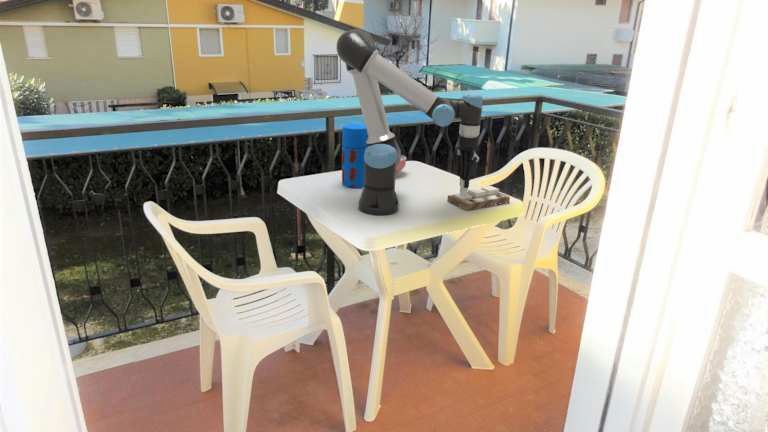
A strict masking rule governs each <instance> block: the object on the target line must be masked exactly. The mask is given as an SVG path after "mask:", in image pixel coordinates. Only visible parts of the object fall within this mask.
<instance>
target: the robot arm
mask: <svg viewBox="0 0 768 432" xmlns="http://www.w3.org/2000/svg"><path fill="white" fill-rule="evenodd" d="M336 53H337V56H338V57H339V59H340V60H341V61H342V62H343V63H345V67H346V71H347V72H348V73H349V74H351V75H352V78H353V81H354V85H355V90H356V94H357V98H358V101H359V106H360V110H361V113H362V114H361V115H362V117H363V121H364V125H366V129H367V133H368V139H367V141H366V145H367V148H366V150H365V154H364V187H363V190H362V192H361V194H360V197H359V200H358V210H359V211H360V212H362V213H366V214H367V215H375V216H384V215H385V216H386V215H387V216H388V215H392V214H396V213H397V212H398V211H399V207H400V205H399V204H400V203H399V199H398V196H397V194H396V193H397V192H396V174H397V173H396V168H397V166H398V164H399V162H400V159H401V155H402V151H401V149H400V146H399V144H398V142H397V139H396V135H395V134H394V133H393V132H391V131H390V125H389V122H388V117H387V114H386V110H385V105H384V102H383V97H382V94H381V90H380V84H381V85H383V86H385V88H388V89H389V90H390V91H392V92H393V93H394V94H396V96H397V95H398V96H399V97H400V98H401V99H403V100H404V101H406V102H407V103H408V104H411V105H412V106H413V107H414V108H416V109H417V110H418V111H420V112H422V113H423V114H424V115H425V116H427V117H429V118H430V119H432V121H433V122H434V123H435V124H436V125H437V126H439V127H442V128H443V127H448V126H450V125H451V123H453V121H454V120H460V123H459V131H458V134H459V136H458V146H459V147H458V149H456V150H454V156H455V165H456V176H458V177H459V193H460V195H461V196H464V195H467V192H468V189H469V187H470V180H474V179H475V175H476V172H477V169H478V165H479V162H480V161H481V159H482V158H481V156H478V155H477V147H478V146H479V141H480V138H479V136H480V133H481V132H480V130H481V121H482V112H483V101H484V100H483V98H484V97H483V96H482V94H480V93H474V92H473V93H471V92H470V93H469V92H465V93H463V94H462V97H461V98H453V97H451V98H450V97H441V96H438V95H437V94H436V93H434V92H433V91H432V90H430V89H428V88H427V87H425V86H424V85H423V84H422V83H419V82H418V80H415V79H414V78H413V77H411V76H410V75H408V74H407V73H406V72H404V71H403V70H401V69H400V68H399V67H397V66H396V65H394V64H393V63H392V62H390V61H389V60H387V59H386V58H384V57H383V56H381V55H380V54H379V51H378V49H377V48H376V42H375V40H374V38H373V36H372V35H371V34H370V33H369V32H368V31H366V30H363V29H359V28H357V29H356V28H355V29H350V30H347V31H345V32H342V34H341V35H340V36H339V37H338V39H337V42H336ZM379 83H380V84H379Z"/></svg>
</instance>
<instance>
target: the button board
mask: <svg viewBox="0 0 768 432" xmlns="http://www.w3.org/2000/svg"><path fill="white" fill-rule="evenodd" d="M467 194H468V192H467ZM510 200H511V196H508V195H506V194H504V193H501V192H499V194H497V195H491V196H488V195H486V196H485V197H480V198H474V197H472V199H469V200H463V201H461V200H459V199H457V198H455V197H454V194H449V195H447V201H446V202H447V203H449V204H452V205H454V206H455V207H458V208H459V207H460V209H462V210H464V211H466V212H469V211H474V209H475V210H479V208H480V209H484V208H483V207H485V208H488V207H487V206H490V207H492V206H491V205H495V204H500V203H506V202H509V203H510ZM506 204H507V203H506Z"/></svg>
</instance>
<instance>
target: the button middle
mask: <svg viewBox="0 0 768 432" xmlns="http://www.w3.org/2000/svg"><path fill="white" fill-rule="evenodd" d="M468 195H470V196H472V197H474V198H480V197H485V196H486V191H484V190H481V188H478V187H476V188H475V187H474V188H470V189H469V188H468Z"/></svg>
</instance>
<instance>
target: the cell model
mask: <svg viewBox="0 0 768 432" xmlns="http://www.w3.org/2000/svg"><path fill="white" fill-rule="evenodd" d="M406 162H407V157H406V156H405V155H402V154H401V159H400V162H399V164H398V166H397V168H396V174H397V173H399V172H400V171H402V170H403V169H404V168H405V166H406Z"/></svg>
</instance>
